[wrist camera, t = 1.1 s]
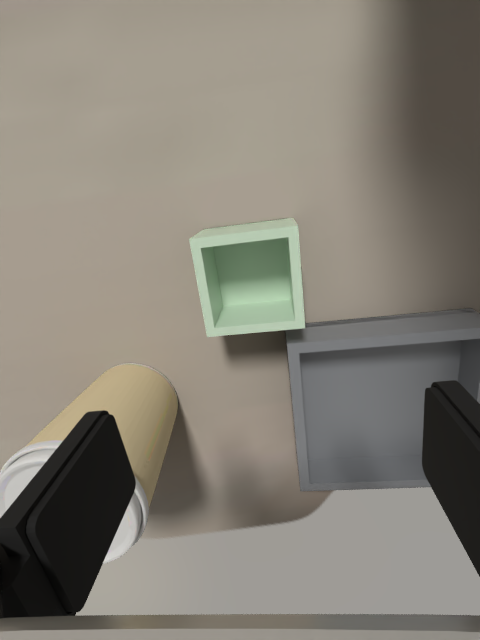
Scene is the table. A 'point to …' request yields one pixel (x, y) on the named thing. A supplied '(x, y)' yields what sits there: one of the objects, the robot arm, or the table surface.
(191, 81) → the table surface
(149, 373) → the coffee cup
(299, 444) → the large crate
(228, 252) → the box
